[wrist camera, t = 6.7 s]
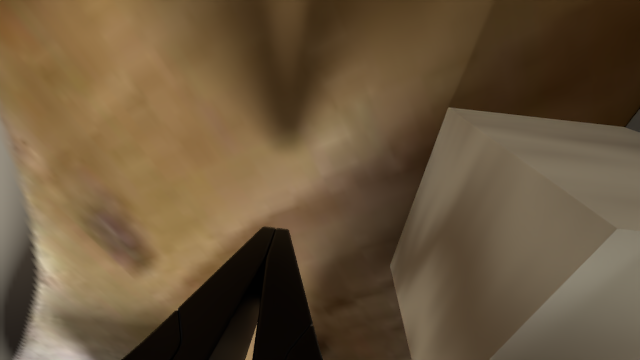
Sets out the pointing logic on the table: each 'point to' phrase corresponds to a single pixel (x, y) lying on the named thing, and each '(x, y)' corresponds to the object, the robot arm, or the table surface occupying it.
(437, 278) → the pale block
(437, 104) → the table surface
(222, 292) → the robot arm
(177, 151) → the table surface
